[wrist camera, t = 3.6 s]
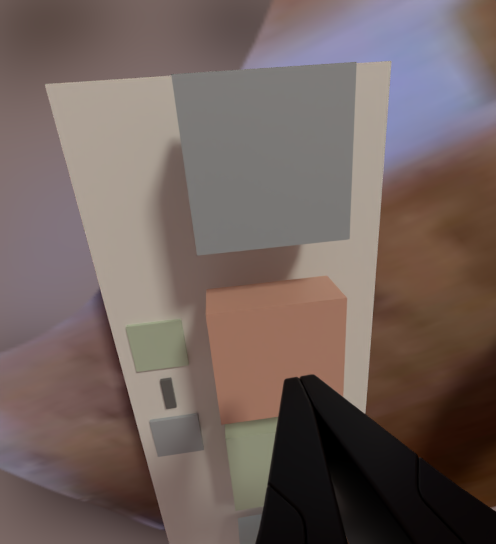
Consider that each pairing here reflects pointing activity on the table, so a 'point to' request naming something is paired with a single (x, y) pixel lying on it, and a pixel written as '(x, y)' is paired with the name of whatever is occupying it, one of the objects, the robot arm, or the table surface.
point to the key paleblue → (248, 528)
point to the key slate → (267, 155)
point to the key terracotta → (273, 342)
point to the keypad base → (197, 277)
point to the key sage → (250, 460)
